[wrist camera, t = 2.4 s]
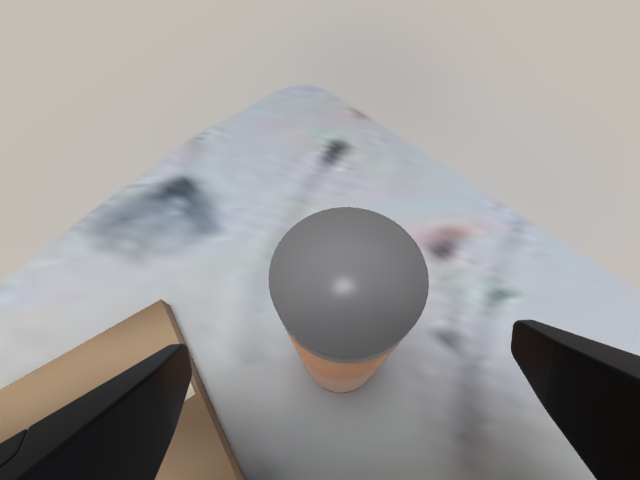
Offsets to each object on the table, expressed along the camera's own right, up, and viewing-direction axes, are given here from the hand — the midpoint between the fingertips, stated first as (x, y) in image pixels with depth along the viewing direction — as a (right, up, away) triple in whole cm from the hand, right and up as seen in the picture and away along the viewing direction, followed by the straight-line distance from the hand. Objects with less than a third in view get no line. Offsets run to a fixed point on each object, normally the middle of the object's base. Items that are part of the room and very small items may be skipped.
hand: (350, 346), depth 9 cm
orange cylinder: (0, -3, +9) cm, 9 cm away
